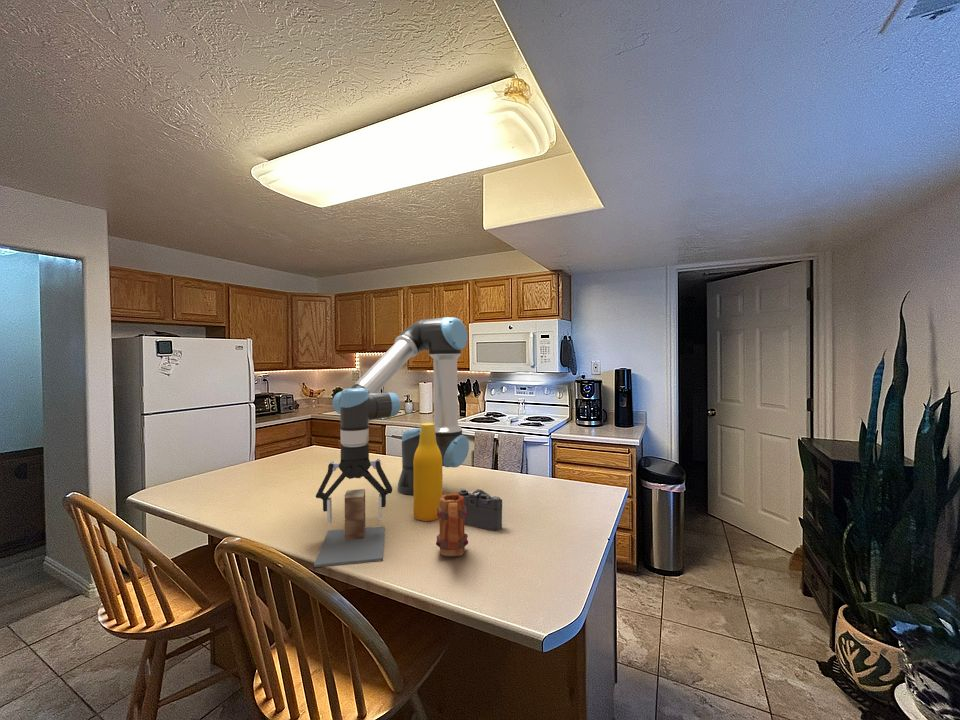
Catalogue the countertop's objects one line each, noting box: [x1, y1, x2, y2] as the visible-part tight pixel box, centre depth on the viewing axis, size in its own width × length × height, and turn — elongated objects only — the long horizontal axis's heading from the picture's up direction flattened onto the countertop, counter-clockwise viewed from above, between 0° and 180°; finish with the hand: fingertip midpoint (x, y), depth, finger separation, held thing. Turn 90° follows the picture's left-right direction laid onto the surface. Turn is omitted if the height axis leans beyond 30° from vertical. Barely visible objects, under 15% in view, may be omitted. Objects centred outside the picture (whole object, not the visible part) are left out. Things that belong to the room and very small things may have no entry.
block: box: [344, 488, 366, 540], centre depth 114 cm, size 5×5×12 cm
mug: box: [435, 492, 469, 558], centre depth 102 cm, size 15×8×15 cm, turn 5°
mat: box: [313, 525, 386, 568], centre depth 109 cm, size 16×20×1 cm
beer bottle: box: [412, 422, 444, 522], centre depth 129 cm, size 9×9×29 cm
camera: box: [457, 488, 503, 532], centre depth 124 cm, size 14×11×10 cm
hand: (355, 520), depth 113 cm, fingers open, 13 cm apart
